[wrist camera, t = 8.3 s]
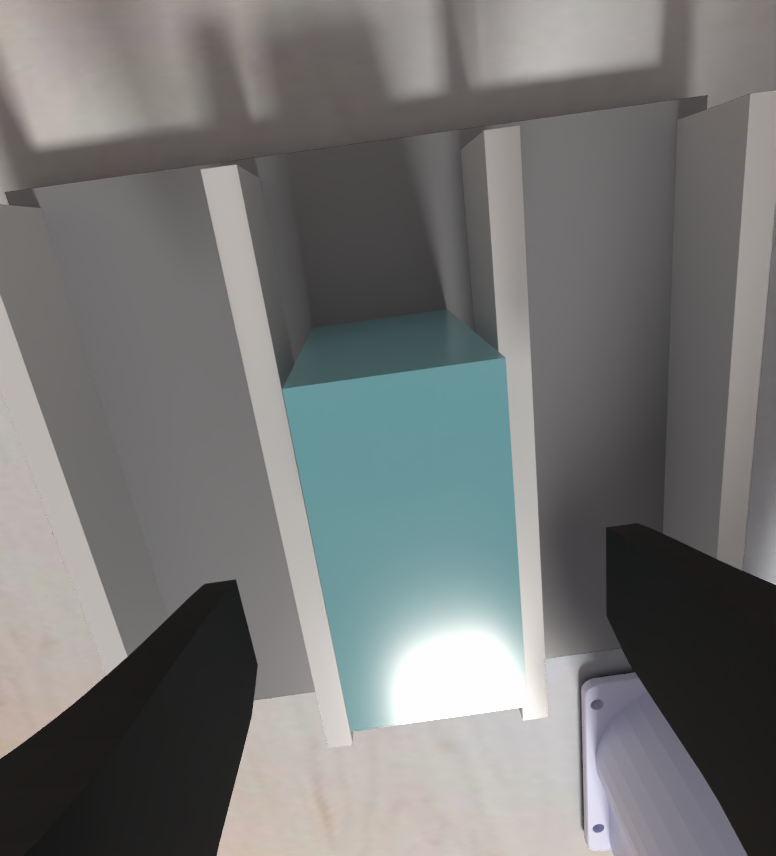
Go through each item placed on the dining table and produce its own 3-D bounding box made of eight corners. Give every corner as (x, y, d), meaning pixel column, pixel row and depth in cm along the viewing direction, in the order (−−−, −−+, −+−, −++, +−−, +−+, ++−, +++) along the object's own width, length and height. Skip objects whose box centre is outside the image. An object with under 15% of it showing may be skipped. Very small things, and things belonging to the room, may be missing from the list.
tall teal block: (469, 544, 19) (527, 706, 13) (353, 560, 19) (350, 731, 13) (446, 309, 17) (505, 357, 10) (312, 327, 17) (282, 389, 10)
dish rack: (666, 622, 22) (730, 702, 18) (183, 691, 22) (147, 786, 18) (686, 103, 16) (788, 62, 12) (25, 194, 16) (-78, 181, 12)
